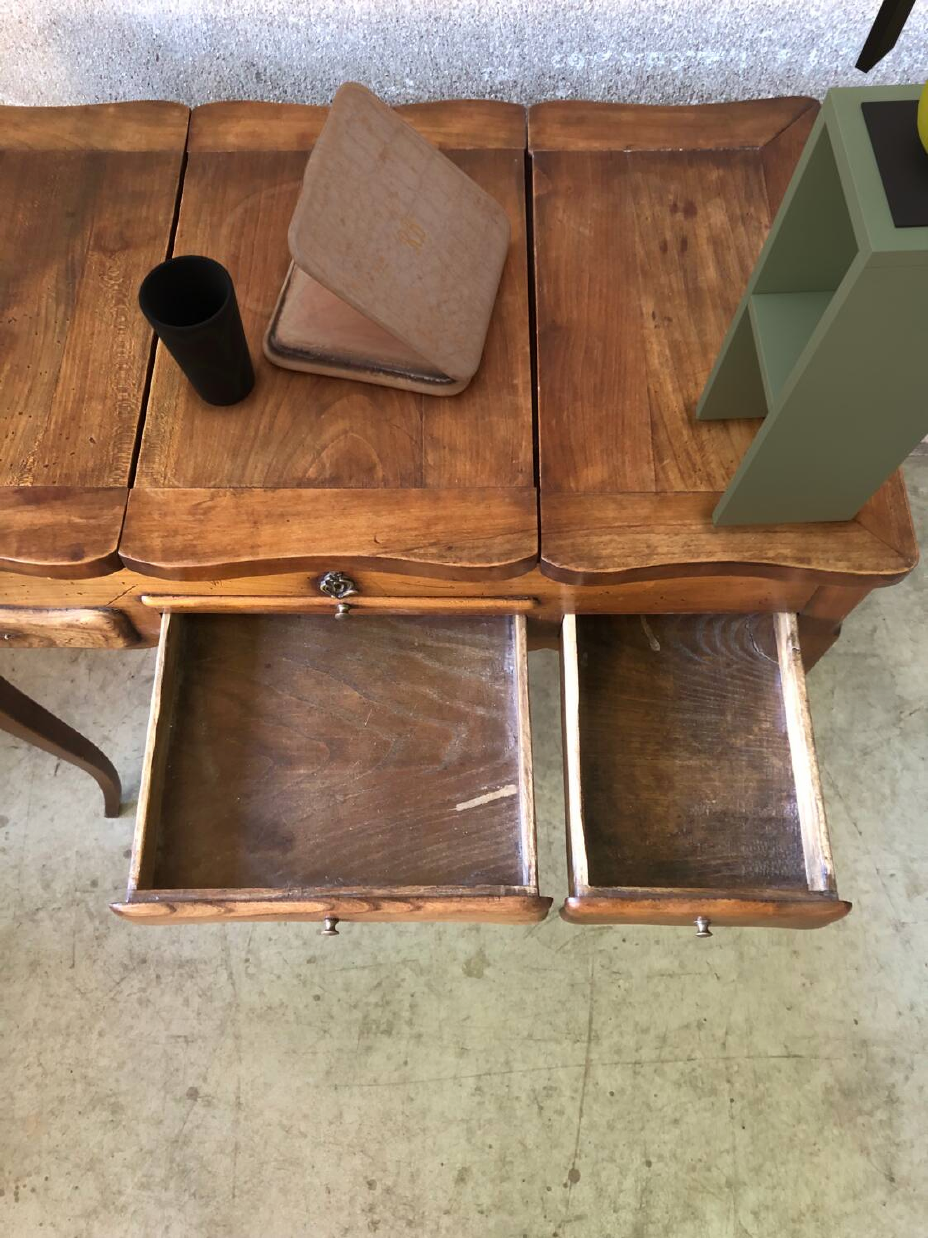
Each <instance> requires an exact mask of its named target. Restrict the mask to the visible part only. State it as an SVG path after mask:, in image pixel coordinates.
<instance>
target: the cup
mask: <svg viewBox="0 0 928 1238" xmlns="http://www.w3.org/2000/svg"><path fill="white" fill-rule="evenodd" d="M233 281H234V280H233V278H232V276H231V274H230V273H229V270H228V269H227V268H226V267H225V266H224V265H223V264H222V263H220V262H219V261H216V260H215V259H213V258H211V257H208V256H204V255H197V254H196V255H195V254H185V255H178V256H174V257H172V258H169V259H166V260H165V261H163V262H160V263H159V264H157V266H155V267H153V268H152V269H151V270H150V271H149V272H148V274H147V275H146V276H145V277H144V278H143V280H142V282H141V285H140V287H139V291H138V296H137V297H138V306H139V308H140V310H141V313H142V314H143V317H145V320H146V321H147V322H148V323H149V324H150V326H151V327H152V329H153V330H154V332H155V333H156V335H157V336H158V338H159V339H160V340H161V342H162V344H163V345H164V347H165V349H167V351H168V352H169V354H170V355H171V357H172V358H173V359H174V361H175V363H176V364H177V366H178V367H179V368H180V370H181V372H183V374H184V376H185V377H186V378H187V380H188V381H189V383H190V385H191V386H192V387H193V389H194V391H196V393H197V394H198V396H199V397H200V398H201V400H203V401H204V402H206V403H207V404H209V405H211V406H215V407H230V406H233V405H236V404H239V403H241V402H242V401H244V400H245V399H246V398H247V397H248V396H249V395H250V394H251V392H252V391H253V388H254V386H255V383H256V375H255V370H254V366H253V363H252V357H251V354H250V350H249V346H248V341H247V337H246V334H245V327H244V324H243V320H242V316H241V311H240V308H239V303H238V299H237V296H236V290H235V285H234V282H233Z"/></svg>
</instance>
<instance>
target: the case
mask: <svg viewBox="0 0 928 1238" xmlns="http://www.w3.org/2000/svg"><path fill="white" fill-rule="evenodd" d="M301 186H302V188H301V191H300V192H301V193H300V195H299V198H298V200H297V204H296V205H295V209H294V212H293V213H292V214H293V215H292V218H291V220H290V224H289V227H288V231H287V248H288V251H289V254H290V256H291V261H290V264H289V267H288V271H287V272H286V276H285V278H284V281H283V284H282V286H281V289H280V290H279V291H280V292H279V294H278V297H277V300H276V302H275V305H274V308H273V311H272V314H271V316H270V318H269V321H268V324H267V327H266V328H265V332H264V334H263V337H262V342H261V346H262V352H263V355H264V357H265V358H266V359H267V360H268V361H269V362H270V363H272V364H273V365H275V366H277V367H280V368H283V369H286V370H292V371H299V372H304V373H309V374H316V375H321V376H322V375H323V376H327V377H334V378H340V379H347V380H352V381H357V382H364V383H368V384H374V385H378V386H384V387H390V388H393V389H398V390H404V391H409V392H415V393H418V394H419V393H420V394H425V395H430V396H437V397H452V396H455V395H458V394H460V393H462V392H463V391H464V390H465V389H466V388H467V387H468V386H469V384H470V382H471V381H472V378H473V377H474V376H475V374H476V373H477V372H478V369H479V366H480V365H481V364H480V363H481V359H482V355H483V351H484V347H485V343H486V338H487V334H488V330H489V325H490V322H491V318H492V313H493V310H494V305H495V302H496V298H497V293H498V290H499V287H500V283H501V278H502V274H503V270H504V267H505V262H506V260H507V256H508V252H509V247H510V244H511V238H512V226H511V222H510V219H509V217H508V214H507V212H506V211H505V209H504V208H503V207H502V205H501V204H500V203H499V202H498V201H497V200H496V199H495V198H493V197H492V196H491V195H490V194H489V193H488V192H486V191H485V190H484V189H483V188H482V187H481V186H480V185H478V184H477V182H476V181H474V180H473V179H472V178H471V177H470V176H468V174H466V173H465V172H464V171H463V170H462V169H460V168H459V167H458V165H456V164H455V163H454V162H453V161H452V160H450V159H449V158H448V157H446V155H445V154H444V153H443V152H442V151H441V150H439V149H438V148H437V147H436V146H435V145H434V144H432V143H431V141H429V140H428V139H427V138H426V137H424V136H423V135H422V134H421V133H420V132H419V131H418V130H417V129H416V128H415V127H413V125H411V124H410V123H409V122H408V121H407V120H406V119H405V118H403V117H402V116H401V115H400V114H399V113H398V112H396V111H395V109H393V108H392V107H391V106H390V105H388V104H387V103H386V102H385V101H384V100H383V99H382V98H381V97H380V96H378V94H376V93H375V92H373V90H371V89H370V88H368V86H365V85H364V84H363V83H360V82H357V81H346V82H343V83H342V84H340V85H339V87H338V89H337V90H336V91H335V94H334V97H333V100H332V103H331V106H330V109H329V112H328V115H327V118H326V121H325V123H324V124H323V127H322V128H321V131H320V134H319V135H318V137H317V139H316V140H315V141H314V143H313V145H312V148H311V151H310V153H309V155H308V158H307V160H306V163H305V166H304V170H303V172H302V178H301Z"/></svg>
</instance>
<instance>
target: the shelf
mask: <svg viewBox="0 0 928 1238" xmlns="http://www.w3.org/2000/svg"><path fill="white" fill-rule="evenodd" d="M924 86H925V83H910V84H907V83H906V84H905V83H904V84H884V85H883V84H881V85H861V86H838V87H837V86H836V87H828V90H827V92H826V94H825V97H824V99H823V101H822V103H821V107H820V109H819V112H818V115H817V116H816V118H815V121H814V123H813V127H812V128H811V131H810V133H809V135H808V137H807V140H806V143H805V145H804V147H803V150H802V151H801V155H800V156H799V159H798V162H797V164H796V167H795V169H794V171H793V174H792V176H791V179H790V181H789V184H788V186H787V188H786V191H785V193H784V195H783V197H782V200H781V203H780V205H779V207H778V209H777V212H776V214H775V217H774V220H773V221H772V224H771V227H770V229H769V231H768V233H767V237H766V239H765V241H764V243H763V246H762V248H761V250H760V253H759V256H758V258H757V260H756V263H755V265H754V267H753V269H752V272H751V274H750V277H749V279H748V281H747V284H746V287H745V289H744V291H743V294H742V296H741V299H740V301H739V304H738V306H737V309H736V311H735V312H734V315H733V318H732V320H731V323H730V325H729V327H728V330H727V332H726V335H725V337H724V340H723V342H722V344H721V346H720V348H719V351H718V354H717V356H716V358H715V361H714V363H713V366H712V368H711V370H710V373H709V375H708V378H707V380H706V383H705V385H704V387H703V390H702V392H701V395H700V397H699V399H698V401H697V404H696V406H695V409H694V410H695V417H696V421H712V420H732V419H733V420H735V419H759V418H764V420H763V422H762V424H761V426H760V428H759V429H758V431H757V432H756V434H755V436H754V437H753V440H752V442H751V443H750V445H749V447H748V448H747V450H746V452H745V454H744V456H743V457H742V460H741V462H740V463H739V465H738V467H737V468H736V470H735V472H734V474H733V476H732V477H731V479H730V481H729V483H728V485H727V487H726V488H725V491H724V492H723V493H722V495H721V497H720V499H719V501H718V503H717V505H715V506H716V507H715V508H714V510H713V512H712V513H711V516H712V523H713V527H729V526H749V525H750V526H751V525H774V524H797V523H798V524H799V523H819V522H842V521H843V522H844V521H851V520H853V518H855V516H856V515H858V513H859V512H860V511H861V510H862V509H863V507H864V506H865V505H866V503H868V502H869V501H870V499H871V498H873V496H874V495H875V494H876V493H877V492H878V491H879V489H880V488H881V487H882V486H883V485H884V484H885V483H886V482H887V481H888V480H889V478H890V477H891V476H892V475H893V473H895V472H896V470H898V468H899V467H900V465H902V464H903V462H904V461H905V460H906V459H907V458H908V457H909V456H910V455H911V454H912V452H913V451H914V450H915V449H916V448H917V447H918V446H919V445H920V444H921V442H922V441H924V439H925V438H926V436H928V153H927V152H926V150H925V148H924V146H923V144H922V141H921V139H920V136H919V130H918V125H917V124H918V105H919V101H920V97H921V93H922V90H923V88H924Z"/></svg>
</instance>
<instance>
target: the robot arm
mask: <svg viewBox="0 0 928 1238" xmlns="http://www.w3.org/2000/svg"><path fill="white" fill-rule="evenodd" d="M916 2H917V0H882V3H881V5H880V7H879V9H878V12H877V14H876V17H875V19H874V21H873V23H872V26H871V28H870V30H869V33H868V35H867V37H866V40H865V42H864V44H863V46H862V48H861V51H860V53H859V55H858V58H857V60H856V63H855V65H854V68H855V69H857V70H858V71H860V72H862V73H864V74H868V73H869V72H870V71H871V70H872V69H873V68H874V67H875V66H876V65H878V64H879V62H881V60H883V59H884V57H886V56H887V55H888V54H889V53H890V52H891V51H892V50H893V49H894V48H895V46H896V44H897V42H898V40H899V38H900V36H901V33H902V31H903V29H904V27H905V24H906V23H907V20H908V18H909V16H910V15H911V13H912V10H913V8H914V6H915V3H916Z"/></svg>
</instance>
